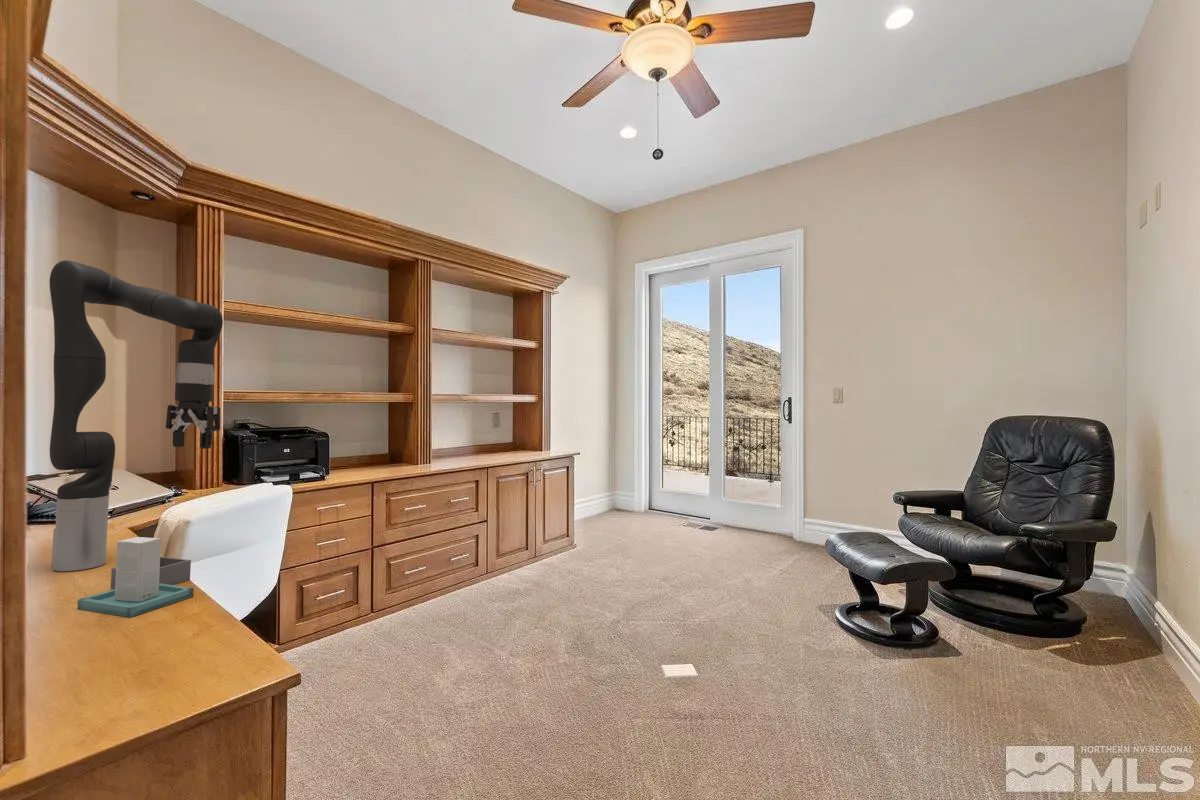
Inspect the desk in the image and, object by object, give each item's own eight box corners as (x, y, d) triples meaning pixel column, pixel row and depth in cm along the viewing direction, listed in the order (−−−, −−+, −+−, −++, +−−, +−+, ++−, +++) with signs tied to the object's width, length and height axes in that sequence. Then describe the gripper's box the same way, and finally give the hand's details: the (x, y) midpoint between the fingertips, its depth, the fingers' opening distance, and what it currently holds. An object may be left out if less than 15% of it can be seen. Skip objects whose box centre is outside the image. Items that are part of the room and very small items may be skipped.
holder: (110, 589, 114) (111, 568, 114) (159, 575, 124) (160, 556, 124) (142, 593, 112) (143, 572, 112) (190, 579, 122) (190, 560, 122)
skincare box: (159, 595, 109) (162, 538, 109) (139, 603, 105) (142, 542, 105) (134, 593, 110) (137, 536, 110) (112, 600, 106) (115, 541, 106)
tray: (77, 608, 103) (77, 599, 103) (143, 589, 115) (144, 581, 115) (130, 617, 100) (131, 607, 100) (193, 596, 111) (193, 588, 111)
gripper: (157, 381, 128) (153, 447, 127) (202, 381, 124) (199, 450, 124) (187, 382, 135) (184, 445, 135) (231, 383, 132) (228, 448, 131)
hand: (191, 447), depth 129 cm, fingers open, 8 cm apart
